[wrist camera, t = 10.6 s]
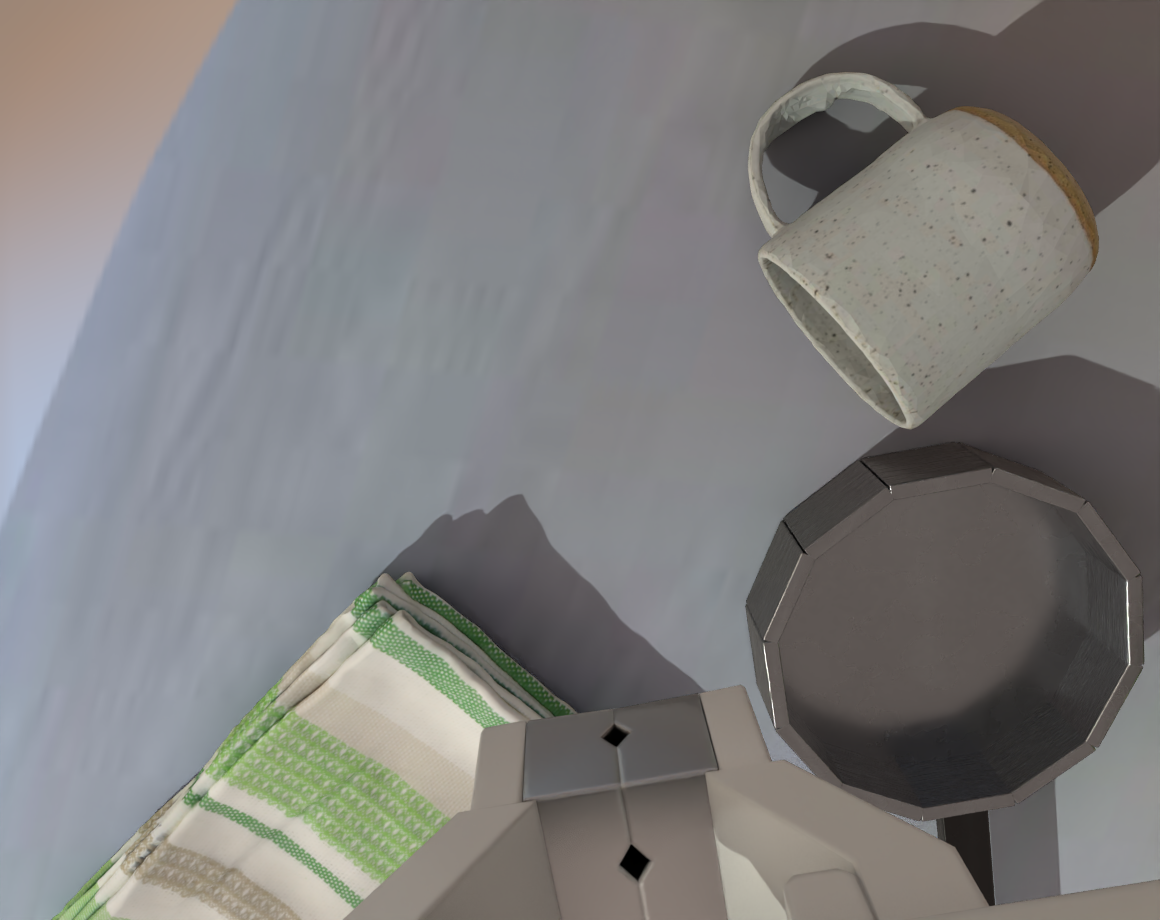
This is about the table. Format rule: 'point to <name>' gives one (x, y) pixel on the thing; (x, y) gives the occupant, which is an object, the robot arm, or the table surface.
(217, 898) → the dish towel
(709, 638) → the table surface
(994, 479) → the steel pan
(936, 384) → the ceramic mug
